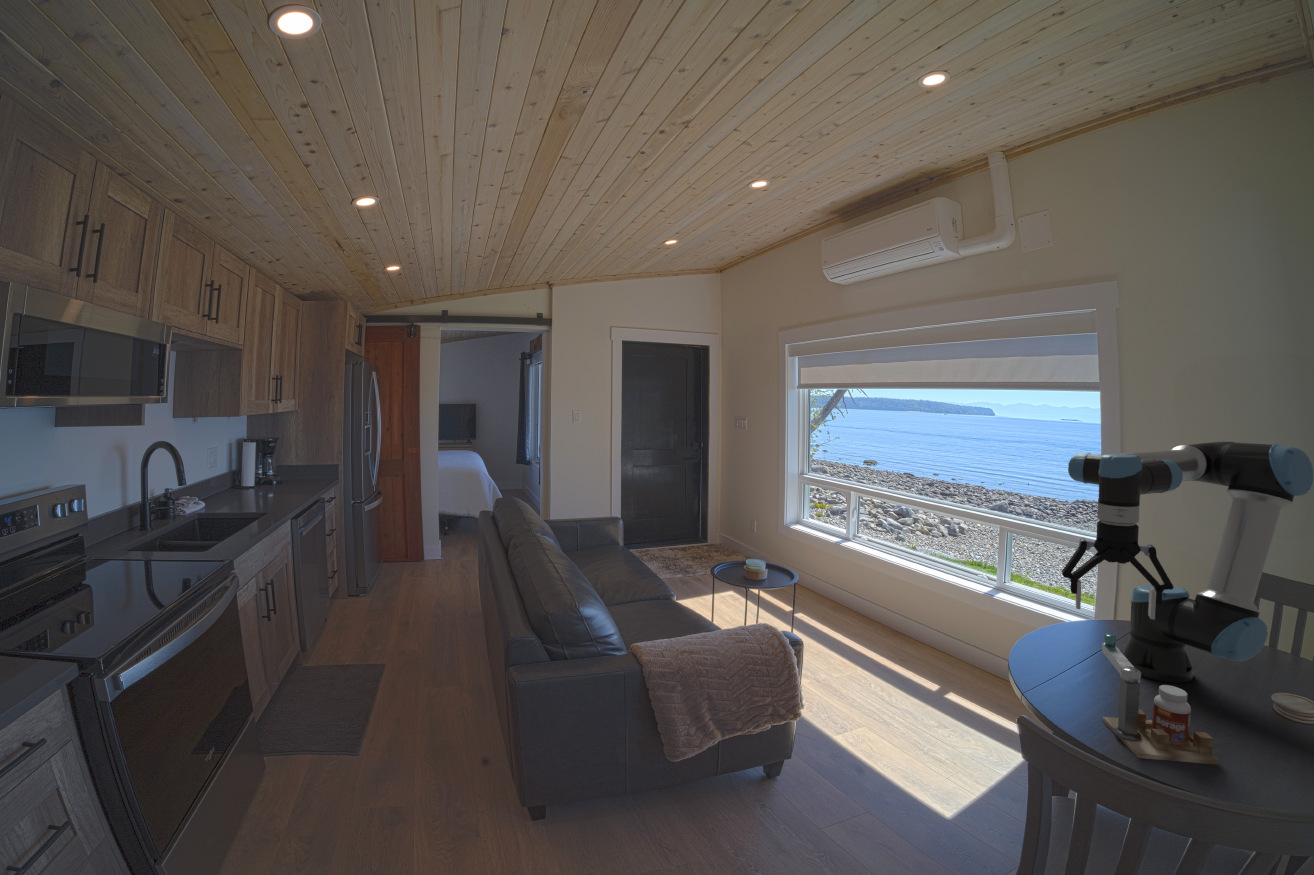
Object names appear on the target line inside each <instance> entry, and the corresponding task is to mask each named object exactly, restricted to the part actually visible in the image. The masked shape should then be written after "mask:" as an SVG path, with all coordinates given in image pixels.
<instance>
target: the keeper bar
mask: <svg viewBox="0 0 1314 875" xmlns="http://www.w3.org/2000/svg"><path fill="white" fill-rule="evenodd" d="M1103 637H1104V638H1103V642H1102V643H1101V652H1102V653H1103V654H1104V656H1105V657H1106V658H1107V660H1108V661H1109V662H1110V663H1111V665H1113V667H1114V668H1115V670H1116V671H1117V673H1118V674H1119V679H1120V678H1121V679H1122V680H1124V681H1126V682H1129V683H1139V684H1140V683H1141V680H1142V676H1141V671H1140V670H1139V669H1137V668H1134V666H1133V665H1132V664H1131V663H1130V662H1129V661H1128V659H1127V658H1126V657H1125V656H1124V655H1123V654H1122V652H1121V650H1120V649H1119V648H1118V647H1117V644H1116V642H1117V641H1116V640H1117V636H1116V635H1114V634H1111V633H1105V634H1104V636H1103Z"/></svg>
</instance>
